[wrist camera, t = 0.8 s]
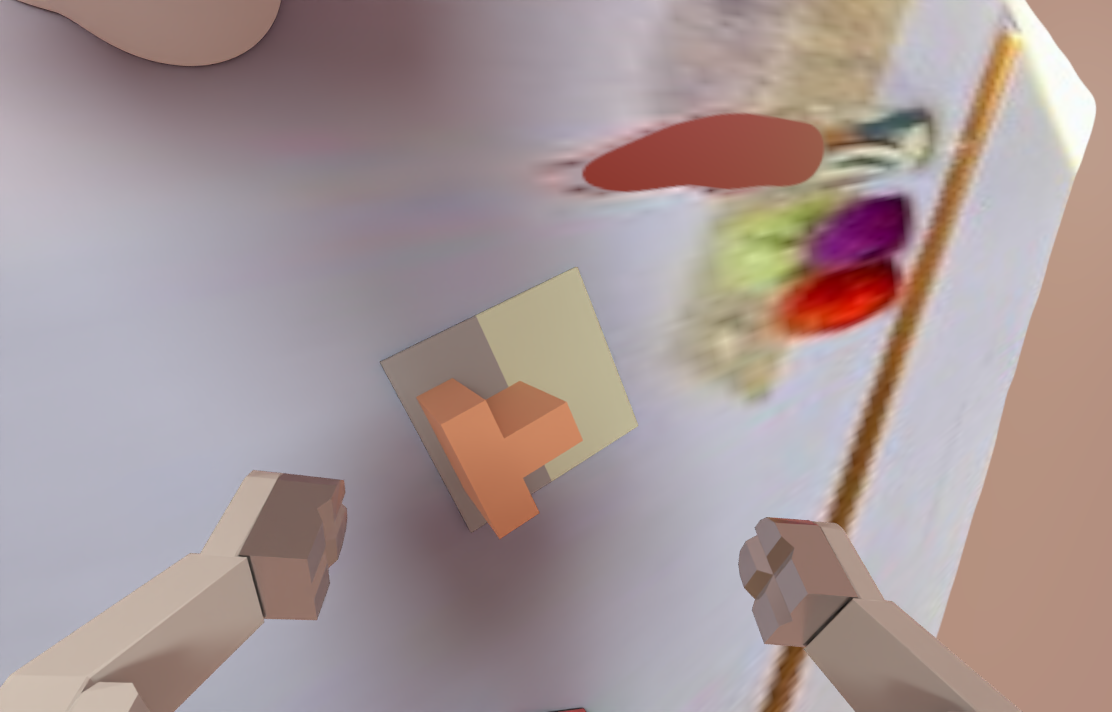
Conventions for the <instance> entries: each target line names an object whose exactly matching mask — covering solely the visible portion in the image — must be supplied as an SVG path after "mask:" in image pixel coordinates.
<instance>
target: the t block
mask: <svg viewBox="0 0 1112 712" xmlns="http://www.w3.org/2000/svg"><path fill="white" fill-rule="evenodd" d="M416 398H417V400H418V402H419V404H420V406H421V408H422V410H423V411H424V413H425V415H426V417H427V419H428V421H429V423H430V425H431V427H432V429H433V431H434V432H435V434H436V436H437V438H438V440H439V442H440V444H441V446H442V448H443V450H444V452H445V454H446V455H447V457H448V459H449V461H450V463H451V465H452V467H453V469H454V471H455V473H456V475H457V477H458V478H459V480H460V482H461V484H462V486H463V488H464V490H465V492H466V493H467V494H468V496H469V497H470V499H471V500H472V501H473V503H474V504H475V505H476V507H477V508H478V510H479V511H480V512H481V514H482V515H483V517H484V518H485V519H486V521H487V522H488V524H489V525H490V526H491V528H492V529H493V531H494V532H495V533H496V535H497V536H498V537H499V539H501V538H502V537H504V536H505V535H507V534H508V533H510V532H511V531H513V530H514V529H516V528H517V527H519V526H521V525H522V524H524V523H525V522H527V521H528V520H530V519H531V518H533V517H534V516H536V515H537V514H539V511H538V509H537V507H536V504H535V502H534V500H533V498H532V496H531V494H530V492H529V490H528V488H527V486H526V483H525V481H524V479H523V478H524V477H526V476H527V475H529V474H530V473H532V472H534V471H535V470H537V469H538V468H540V467H542V466H543V465H545V464H546V463H548V462H550V461H551V460H553V459H554V458H556V457H558V456H559V455H561V454H562V453H564V452H566V451H567V450H569V449H570V448H572V447H574V446H575V445H577V444H578V443H580V442H582V441H583V439H582V437H581V434H580V432H579V430H578V427H577V425H576V423H575V420H574V418H573V416H572V413H571V411H570V409H569V406H568V404H567V402H566V401H564V400H561V399H559V398H557V397H555V396H553V395H550V394H548V393H546V392H544V391H542V390H539V389H537V388H535V387H533V386H531V385H528V384H526V383H524V382H522V381H519V382H517V383H515V384H513V385H511V386H510V387H508V388H506V389H504V390H502V391H501V392H499V393H497V394H495V395H493V396H491V397H490V398H488V399H486V400H485V399H483V398H482V397H480V396H479V395H477V394H476V393H474V392H473V391H471V390H470V389H468V388H467V387H465V386H464V385H462V384H461V383H459V382H458V381H456V380H455V379H453V378H451V379H450V380H448V381H446V382H444V383H442V384H440V385H438V386H436V387H434V388H432V389H430V390H428V391H427V392H425V393H423V394H421V395H419V396H417V397H416Z"/></svg>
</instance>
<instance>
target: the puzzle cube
mask: <svg viewBox="0 0 1112 712" xmlns="http://www.w3.org/2000/svg"><path fill="white" fill-rule="evenodd" d="M560 712H586V711H585V709H584V708H583V709H575V710H568V711H560Z"/></svg>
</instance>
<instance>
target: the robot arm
mask: <svg viewBox="0 0 1112 712" xmlns="http://www.w3.org/2000/svg"><path fill="white" fill-rule="evenodd" d="M18 1H21V2H24V3H27V4H30V5H33V6H36V7H40V8H43V9H46V10H50V11H54V12H57V13H59V14H61V15H63V16H65V17H67V18H69V19H71V20H72V21H74V22H76V23H77V24H79V25H80V26H82V27H83V28H85V29H86V30H88V31H89V32H91V33H92V34H94V35H95V36H97V37H98V38H100V39H102V40H104V41H105V42H107V43H109V44H111V45H113V46H115V47H117V48H119V49H121V50H123V51H125V52H128V53H130V54H133V55H135V56H138V57H141V58H145V59H148V60H151V61H155V62H160V63H165V64H171V65H181V66H200V65H209V64H215V63H220V62H223V61H226V60H229V59H232V58H234V57H237V56H239V55H241V54H243V53H244V52H246V51H248V50H249V49H250V48H252V47H253V46H254V45H256V44H257V43H258V42H259V41H260V40H261V39H262V38H263V37H264V36H265V34H266V33H267V32H268V30H269V29H270V27H271V26H272V24H273V22H274V20H275V18H276V16H277V13H278V10H279V7H280V3H281V0H18ZM344 495H345V485H344V480H338V479H330V478H321V477H312V476H304V475H295V474H287V473H277V472H267V471H257V470H253V471H252V472H251V473H250V474H249V475H247V476H246V477H245V478H244V480H243V482H242V483H241V485H240V487H239V488H238V490H237V492H236V494H235V495H234V497H233V499H232V500H231V502H230V504H229V505H228V507H227V509H226V510H225V512H224V514H223V516H222V517H221V519H220V521H219V522H218V524H217V526H216V527H215V529H214V531H213V532H212V534H211V536H210V538H209V539H208V541H207V543H206V544H205V546H204V548H203V549H202V551H201V553H200V554H197V553H190V554H188V555H187V556H185V557H184V558H182V559H181V560H179V561H178V562H176V563H175V564H173V565H172V566H171V567H169V568H168V569H166V570H165V571H163V572H162V573H160V574H159V575H157V576H156V577H154V578H153V579H151V580H150V581H148V582H147V583H145V584H144V585H142V586H141V587H140V588H138V589H137V590H135V591H134V592H132V593H131V594H129V595H128V596H126V597H125V598H123V599H122V600H120V601H119V602H117V603H116V604H114V605H113V606H111V607H110V608H108V609H107V610H106V611H104V612H103V613H101V614H100V615H98V616H97V617H95V618H94V619H92V620H91V621H89V622H88V623H86V624H85V625H83V626H82V627H80V628H79V629H77V630H76V631H74V632H73V633H72V634H70V635H69V636H67V637H66V638H64V639H63V640H61V641H60V642H58V643H57V644H55V645H54V646H52V647H51V648H49V649H48V650H46V651H45V652H43V653H42V654H41V655H39V656H38V657H36V658H35V659H33V660H32V661H30V662H29V663H27V664H26V665H24V666H23V667H21V668H20V669H18V670H17V671H15V672H14V673H12V674H11V675H10V676H9V677H8V678H7V680H6V681H5V682H4V684H3V685H2V686H1V688H0V712H174V711H175V710H176V709H177V708H178V707H179V706H180V705H181V704H182V703H183V702H184V701H185V700H186V699H187V698H188V697H189V696H190V695H191V694H192V693H193V692H194V691H195V690H196V689H197V688H198V687H199V686H200V685H201V684H202V683H203V682H204V681H205V680H206V679H207V678H208V677H209V676H210V675H211V674H212V673H213V672H214V671H215V670H216V669H217V668H218V667H219V666H220V665H221V664H222V663H223V662H224V661H225V660H227V659H228V658H229V657H230V656H231V655H232V654H233V653H234V652H235V651H236V650H237V649H238V648H239V647H240V646H241V645H242V644H243V643H244V642H245V641H246V640H247V639H248V638H249V637H250V636H251V635H252V634H253V633H254V632H255V631H256V630H257V629H258V628H259V627H260V626H261V625H262V624H263V623H264V619H295V620H317V619H318V616H319V613H320V610H321V608H322V605H323V602H324V599H325V596H326V593H327V590H328V587H329V584H330V579H329V570H328V568H329V567H330V566H331V565H332V564H333V563H335V562H336V561H337V560H338V558H339V555H340V552H341V548H342V545H343V541H344V536H345V532H346V525H347V508H346V507H345V506H344V505H343V504H342V500H343V498H344ZM755 530H756V533H757V535H756V536H754V537H753V538H751V539H749V540H747V541H746V542H745V543H744V545H743V547H742V548H741V550H740V554H739V562H738V566H739V573H740V577H741V580H742V583H743V586H744V588H745V589H746V590H747V591H748V592H749V593H750V594H751V595H752V596H753V597H754V599H755V601H754V604H753V607H752V612H753V614H754V617H755V620H756V623H757V625H758V628H759V631H760V634H761V636H762V639H763V642H764V644H774V645H786V646H798V647H806V648H805V649H804V650H805V651H806V653H807V654H808V655H809V656H810V657H811V659H812V660H813V661H814V662H815V663H816V665H817V666H818V667H819V668H820V669H821V671H822V672H823V673H824V674H825V676H826V677H827V678H828V679H829V680H830V682H831V683H832V684H833V685H834V686H835V688H836V689H837V690H838V691H839V692H840V694H841V695H842V696H843V697H844V698H845V700H846V701H847V702H848V703H849V705H850V706H851V707H852V708H853V709H854V711H855V712H1022V711H1021V710H1020V709H1019V708H1017V707H1016V706H1015V705H1014V704H1013V703H1012V702H1011V701H1009V700H1008V699H1007V698H1006V697H1005V696H1003V695H1002V694H1001V693H1000V692H999V691H998V690H996V689H995V688H994V687H993V686H992V685H990V684H989V683H988V682H987V681H985V679H983V678H982V677H981V676H980V675H979V674H977V673H976V672H975V671H974V670H973V669H971V668H970V667H969V666H968V665H967V664H965V663H964V662H963V661H962V660H961V659H960V658H959V657H957V656H956V655H955V654H954V653H953V652H951V651H950V650H949V649H948V648H947V647H946V646H944V645H943V644H942V643H941V642H940V641H939V640H937V639H936V638H935V637H934V636H933V635H931V634H930V633H929V632H928V631H927V630H926V629H924V628H923V627H922V626H921V625H920V624H918V623H917V622H916V621H915V620H914V619H913V618H911V617H910V616H909V615H908V614H907V613H905V612H904V611H903V610H902V609H901V608H900V607H898V606H897V605H896V604H895V603H894V602H892V601H886V600H884V598H883V596H882V594H881V593H880V591H879V589H878V588H877V586H876V584H875V582H874V581H873V579H872V577H871V576H870V574H869V572H868V570H867V569H866V567H865V565H864V564H863V562H862V560H861V558H860V557H859V555H858V553H857V552H856V550H855V548H854V546H853V545H852V543H851V541H850V540H849V538H848V536H847V534H846V533H845V531H844V530H843V529H842V528H841V527H840V526H839V525H838V524H836V523H827V522H815V521H809V520H797V519H784V518H770V517H766V518H764V519H761V520H760V521H759V522H758V524H757V525H756V527H755Z"/></svg>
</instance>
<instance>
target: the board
mask: <svg viewBox="0 0 1112 712" xmlns="http://www.w3.org/2000/svg"><path fill="white" fill-rule="evenodd" d="M380 363H381V365H382V367H383V369H384V371H385V373H386V375H387V376H388V378H389V380H390V382H391V384H392V386H393V388H394V390H395V391H396V393H397V395H398V397H399V399H400V401H401V403H402V405H403V406H404V408H405V410H406V412H407V414H408V416H409V418H410V420H411V421H412V423H413V425H414V427H415V429H416V431H417V433H418V435H419V436H420V438H421V440H422V442H423V444H424V446H425V448H426V450H427V451H428V453H429V455H430V457H431V459H432V461H433V463H434V465H435V466H436V468H437V470H438V472H439V474H440V476H441V478H442V480H443V481H444V483H445V485H446V487H447V489H448V491H449V493H450V495H451V496H452V498H453V500H454V502H455V504H456V506H457V508H458V509H459V511H460V513H461V515H462V517H463V519H464V521H465V523H466V524H467V526H468V528H469V530H470V532H471V533H472V532H474V531H475V530H477V529H478V528H480V527H481V526H483V525H485V524H486V523H488V522H487V521H486V519H485V518H484V517H483V515H482V514H481V512H480V511H479V510H478V508H477V507H476V505H475V504H474V503H473V501H472V500H471V499H470V497H469V496H468V494H467V493H466V492H465V490H464V488H463V486H462V484H461V482H460V480H459V478H458V477H457V475H456V473H455V471H454V469H453V467H452V465H451V463H450V461H449V459H448V457H447V455H446V454H445V452H444V450H443V448H442V446H441V444H440V442H439V440H438V438H437V436H436V434H435V432H434V431H433V429H432V427H431V425H430V423H429V421H428V419H427V417H426V415H425V413H424V411H423V410H422V408H421V406H420V404H419V402H418V400H417V398H416V397H417V396H419V395H421V394H423V393H425V392H427V391H428V390H430V389H432V388H434V387H436V386H438V385H440V384H442V383H444V382H446V381H448V380H450V379H451V378H453V379H455V380H456V381H458V382H459V383H461V384H462V385H464V386H465V387H467V388H468V389H470V390H471V391H473V392H474V393H476V394H477V395H479V396H480V397H482V398H483V399H485V400H486V399H488V398H490V397H491V396H493V395H495V394H497V393H499V392H501V391H502V390H504V389H506V388H508V387H510V386H511V385H513V384H515V383H517V382H519V381H522V382H524V383H526V384H528V385H531V386H533V387H535V388H537V389H539V390H542V391H544V392H546V393H548V394H550V395H553V396H555V397H557V398H559V399H561V400H564V401H566V402H567V404H568V406H569V409H570V411H571V413H572V416H573V418H574V420H575V423H576V425H577V427H578V430H579V432H580V434H581V437H582V439H583V441H582V442H580V443H578V444H577V445H575V446H574V447H572V448H570V449H569V450H567V451H566V452H564V453H562V454H561V455H559V456H558V457H556V458H554V459H553V460H551V461H550V462H548V463H546V464H545V465H543V466H542V467H540V468H538V469H537V470H535V471H534V472H532V473H530V474H529V475H527V476H526V477H524V478H523V479H524V481H525V483H526V486H527V488H528V490H529V492H530V494H533V493H534V492H536V491H538V490H539V489H541V488H542V487H544V486H545V485H547V484H548V483H550V482H552V481H553V480H555V479H556V478H558V477H559V476H561V475H563V474H564V473H566V472H567V471H569V470H570V469H572V468H573V467H575V466H577V465H578V464H580V463H581V462H583V461H584V460H586V459H587V458H589V457H591V456H592V455H594V454H595V453H597V452H598V451H600V450H602V449H603V448H605V447H606V446H608V445H609V444H611V443H612V442H614V441H616V440H617V439H619V438H620V437H622V436H623V435H625V434H626V433H628V432H630V431H631V430H633V429H634V428H636V427H637V426H638V423H637V421H636V418H635V416H634V413H633V410H632V408H631V405H630V403H629V400H628V397H627V395H626V392H625V390H624V387H623V384H622V382H621V379H620V377H619V374H618V371H617V369H616V366H615V364H614V361H613V358H612V356H611V353H610V351H609V348H608V345H607V343H606V340H605V338H604V335H603V332H602V330H601V327H600V325H599V322H598V319H597V317H596V314H595V312H594V309H593V306H592V304H591V301H590V299H589V296H588V293H587V291H586V288H585V286H584V283H583V280H582V278H581V275H580V273H579V270H578V267H574V268H572V269H570V270H568V271H566V272H564V273H562V274H560V275H558V276H555V277H553V278H551V279H549V280H547V281H545V282H543V283H541V284H539V285H537V286H535V287H533V288H531V289H529V290H527V291H525V292H522V293H520V294H518V295H516V296H514V297H512V298H510V299H508V300H506V301H504V302H502V303H500V304H498V305H496V306H494V307H492V308H489V309H487V310H485V311H483V312H481V313H479V314H477V315H475V316H473V317H471V318H469V319H467V320H465V321H463V322H461V323H459V324H457V325H454V326H452V327H450V328H448V329H446V330H444V331H442V332H440V333H438V334H436V335H434V336H432V337H430V338H428V339H426V340H424V341H421V342H419V343H417V344H415V345H413V346H411V347H409V348H407V349H405V350H403V351H401V352H399V353H397V354H395V355H393V356H391V357H388V358H386V359H384V360H382V361H380Z"/></svg>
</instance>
